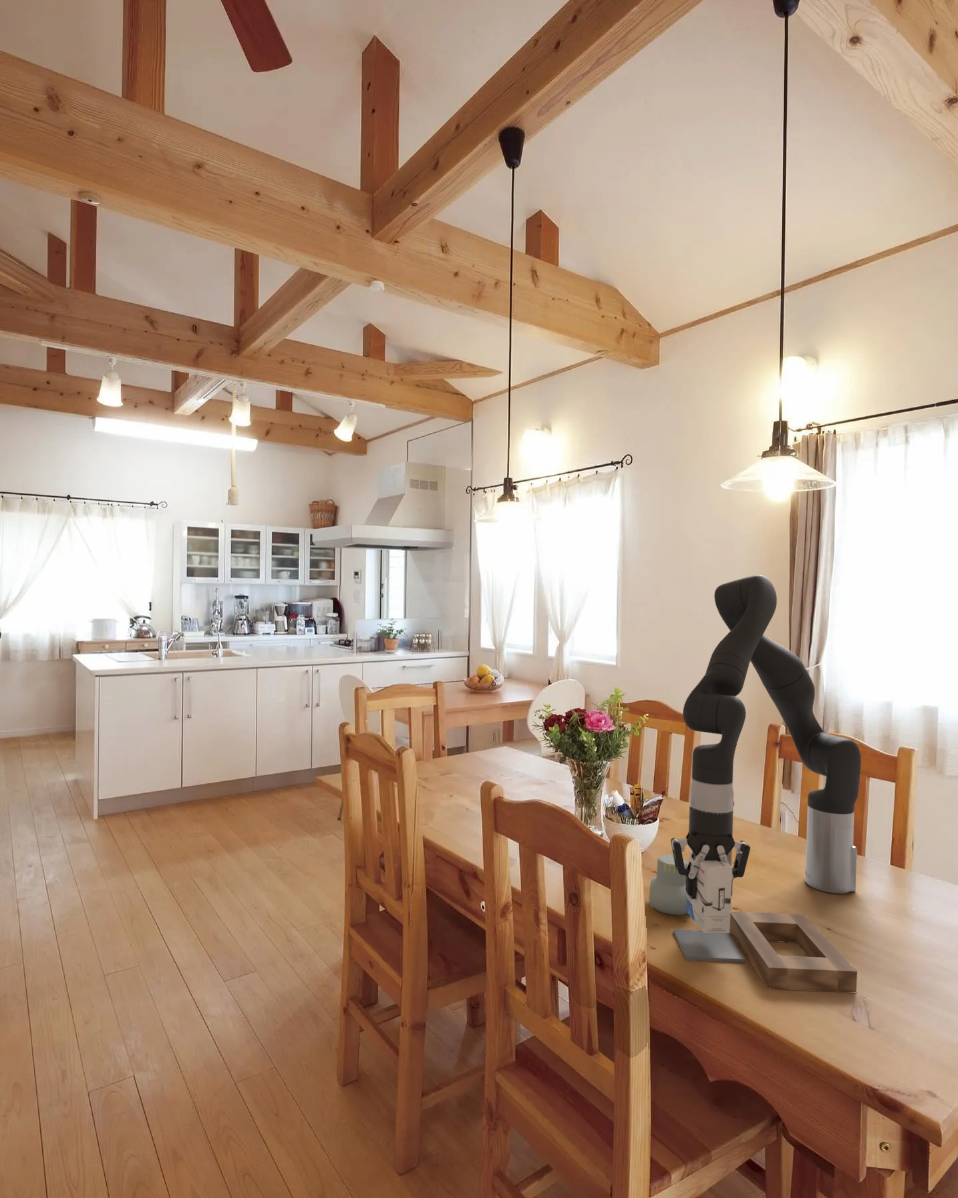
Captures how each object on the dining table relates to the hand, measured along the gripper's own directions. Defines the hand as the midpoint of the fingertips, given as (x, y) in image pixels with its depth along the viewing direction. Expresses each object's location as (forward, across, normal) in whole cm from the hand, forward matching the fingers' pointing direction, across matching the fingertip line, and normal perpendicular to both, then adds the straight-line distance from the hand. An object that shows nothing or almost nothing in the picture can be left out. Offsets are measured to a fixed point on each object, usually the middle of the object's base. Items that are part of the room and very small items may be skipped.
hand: (708, 897), depth 127 cm
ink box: (+5, 0, 0) cm, 5 cm away
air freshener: (+9, +3, -15) cm, 18 cm away
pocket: (+9, -13, +3) cm, 16 cm away
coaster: (+9, 0, 0) cm, 9 cm away
